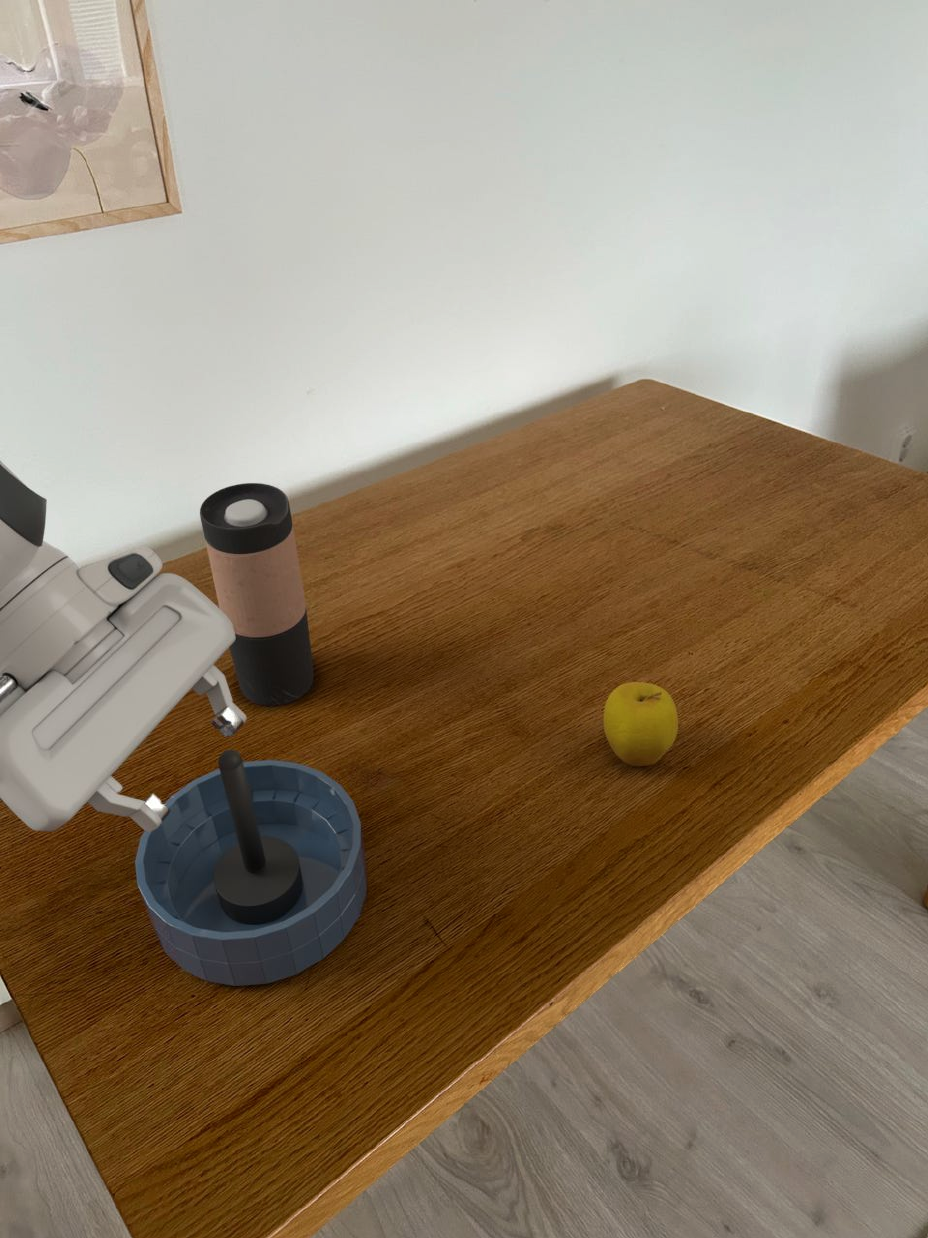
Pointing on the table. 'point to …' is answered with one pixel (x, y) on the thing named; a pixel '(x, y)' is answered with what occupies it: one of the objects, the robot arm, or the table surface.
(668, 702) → the yellow fruit
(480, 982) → the table surface
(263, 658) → the travel mug
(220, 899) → the joystick
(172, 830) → the bowl
